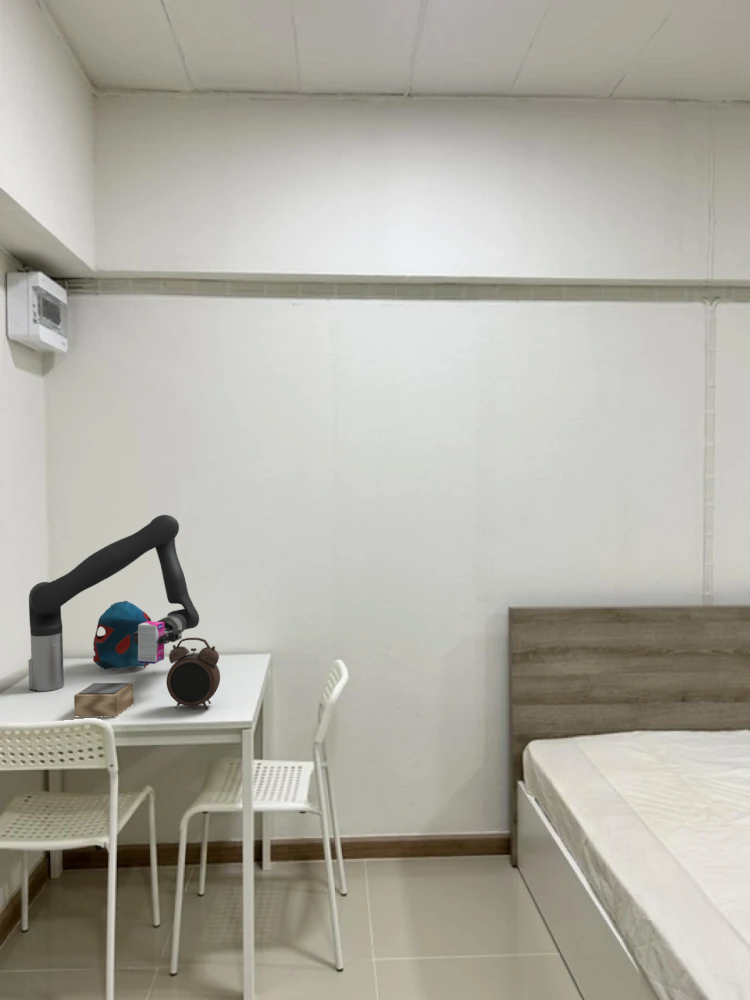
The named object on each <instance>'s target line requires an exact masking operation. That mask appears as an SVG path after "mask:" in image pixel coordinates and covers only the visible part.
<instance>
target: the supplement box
mask: <svg viewBox="0 0 750 1000" xmlns="http://www.w3.org/2000/svg"><path fill="white" fill-rule="evenodd" d="M162 635H164V622H157V621H152V620H151V621H147V622H144V623H141V624H139V625H138V663H147V664H148V665H150V664H151V665H155V664H156V663H159V662H162V661H164V660H165V644H164V643H163V644H162V645H159V637H160V636H162Z"/></svg>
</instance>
